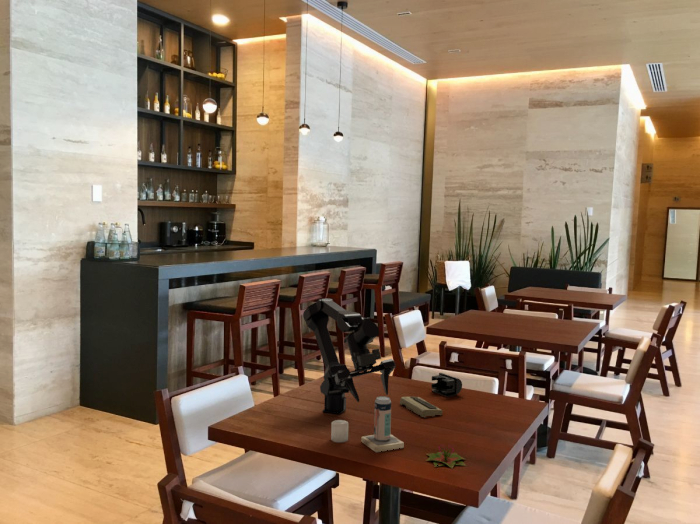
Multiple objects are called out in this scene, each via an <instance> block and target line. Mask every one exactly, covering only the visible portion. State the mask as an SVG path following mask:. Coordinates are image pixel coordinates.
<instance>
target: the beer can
mask: <svg viewBox="0 0 700 524" xmlns="http://www.w3.org/2000/svg"><path fill="white" fill-rule="evenodd" d="M373 419H374V420H373V421H374V422H373V435H374V438H375V439H376V440H378V441H387V440H389V439H390V436H391V435H392V433H391V430H392V429H391V428H392V427H391V426H392V401H391V398H390V396H384V395H383V396H377V397H376V398H375V400H374V416H373Z"/></svg>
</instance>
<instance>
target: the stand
mask: <svg viewBox="0 0 700 524" xmlns="http://www.w3.org/2000/svg"><path fill="white" fill-rule="evenodd" d="M360 439H361V442H362V444H364V445H365V446H366V447H368V448H369V449H371V450H372V451H373V452H375V453H382V452H387V450H388V451H392V450H393V449H394V450H399V448H400V449H404V448H405V446H404V445H405V443H404V441H402V440H401V439H400V438H398V437H396V436H394V435H393V434H391V436H390V439H389V440H387V441H378V440H376V439H375V438H374V434H370V435H364V436H361V438H360ZM381 451H382V452H381Z"/></svg>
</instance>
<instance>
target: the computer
mask: <svg viewBox="0 0 700 524" xmlns="http://www.w3.org/2000/svg"><path fill="white" fill-rule="evenodd" d="M399 404H400V405H401V406H402V405H404V407H405V408H406V409H408V410H409V411H410V410H411V411H410V412H412V411H413V412H412V413H415V414H416V415H418V416H419V415H420V416H419V417H421V418H422V417H424V418H427V417H426V416H432V417H436V416H435V415H440V416H442V415H443V414H444V413H443V410H442V409H441V408H439V407H438V406H436V405H434V404H431V403H430V402H428V401H427V400H425V399H424V398H422V397H419V396H401V397H400V400H399Z"/></svg>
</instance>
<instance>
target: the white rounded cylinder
mask: <svg viewBox="0 0 700 524" xmlns="http://www.w3.org/2000/svg"><path fill="white" fill-rule="evenodd" d="M330 429H331V430H330V433H331V434H330V438H331V439H330V440H331V441H332V442H333V443H346V442H348V441H349V422H348V421H346V420H344V419H343V420H342V419H337V420H336V419H335V420H333V421H331V428H330Z"/></svg>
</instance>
